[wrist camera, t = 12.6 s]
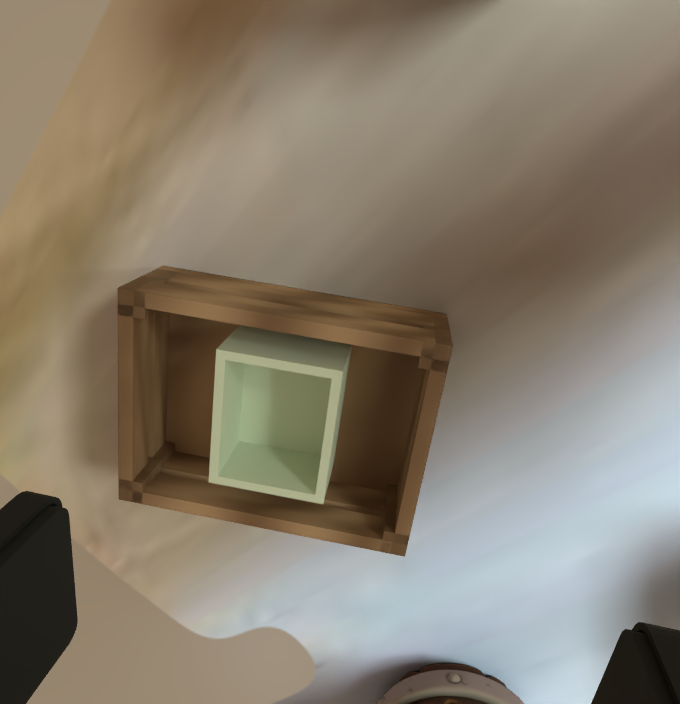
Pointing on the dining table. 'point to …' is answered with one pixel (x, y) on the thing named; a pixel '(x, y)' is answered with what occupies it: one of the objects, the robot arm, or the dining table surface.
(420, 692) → the flowerpot
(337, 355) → the small crate
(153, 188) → the dining table surface
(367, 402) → the large crate
